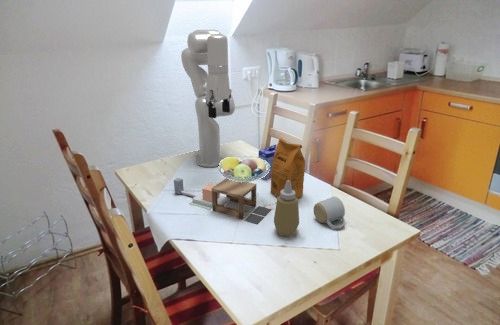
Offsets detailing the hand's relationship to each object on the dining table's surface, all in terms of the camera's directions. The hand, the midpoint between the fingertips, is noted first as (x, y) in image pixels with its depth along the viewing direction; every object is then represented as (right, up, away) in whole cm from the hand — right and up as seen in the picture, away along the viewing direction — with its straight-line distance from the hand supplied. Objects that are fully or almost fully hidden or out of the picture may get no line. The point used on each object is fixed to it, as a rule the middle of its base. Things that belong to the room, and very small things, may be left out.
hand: (219, 114), depth 138 cm
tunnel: (+6, -35, -11) cm, 38 cm away
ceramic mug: (+39, -39, -19) cm, 58 cm away
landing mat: (-4, -33, -6) cm, 34 cm away
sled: (-7, -32, -5) cm, 33 cm away
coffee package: (+26, -31, -1) cm, 41 cm away
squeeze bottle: (+24, -41, -25) cm, 54 cm away
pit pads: (+15, -37, -15) cm, 43 cm away
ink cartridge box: (+21, -25, +15) cm, 36 cm away
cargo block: (-2, -32, -8) cm, 33 cm away
